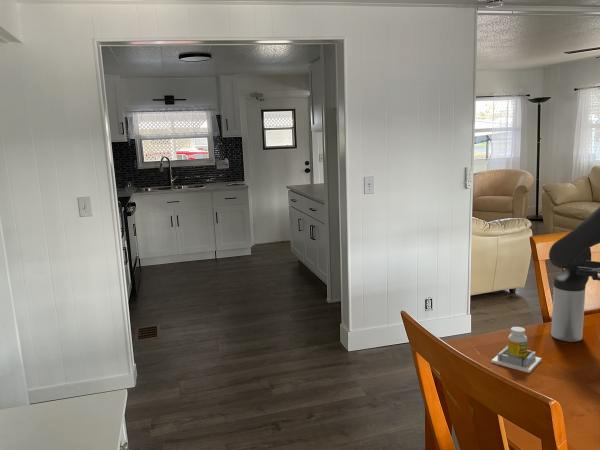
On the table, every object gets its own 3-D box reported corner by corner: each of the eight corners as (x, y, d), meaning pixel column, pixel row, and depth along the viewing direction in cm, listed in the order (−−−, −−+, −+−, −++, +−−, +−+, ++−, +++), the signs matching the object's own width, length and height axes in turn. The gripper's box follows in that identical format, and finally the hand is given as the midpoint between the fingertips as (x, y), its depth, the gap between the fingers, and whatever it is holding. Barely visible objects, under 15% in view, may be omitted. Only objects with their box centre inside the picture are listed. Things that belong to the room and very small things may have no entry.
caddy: (504, 351, 157) (504, 342, 157) (541, 360, 150) (541, 351, 149) (491, 362, 150) (491, 353, 149) (529, 373, 142) (529, 363, 142)
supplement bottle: (514, 353, 153) (515, 324, 152) (530, 359, 149) (531, 329, 147) (503, 358, 150) (504, 328, 149) (519, 364, 146) (521, 333, 144)
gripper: (655, 257, 134) (588, 249, 145) (646, 268, 124) (574, 259, 135) (653, 283, 135) (586, 274, 146) (643, 296, 125) (572, 285, 136)
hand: (580, 267), depth 140 cm, fingers open, 8 cm apart
